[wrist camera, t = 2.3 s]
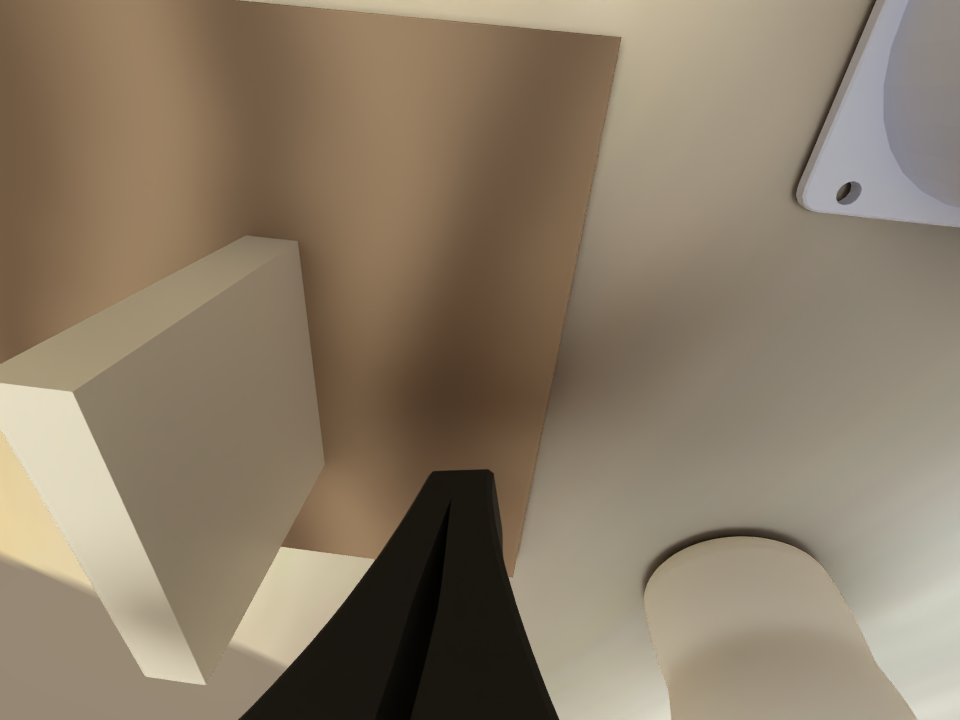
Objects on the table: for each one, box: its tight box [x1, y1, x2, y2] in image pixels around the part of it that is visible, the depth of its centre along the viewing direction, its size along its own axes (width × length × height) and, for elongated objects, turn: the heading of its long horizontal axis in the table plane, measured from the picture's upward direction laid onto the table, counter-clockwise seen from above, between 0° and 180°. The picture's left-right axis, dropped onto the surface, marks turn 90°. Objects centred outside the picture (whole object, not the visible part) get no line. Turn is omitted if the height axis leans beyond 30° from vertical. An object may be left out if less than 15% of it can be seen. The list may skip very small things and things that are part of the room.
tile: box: [0, 235, 325, 685], centre depth 11 cm, size 2×8×7 cm, turn 176°
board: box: [0, 0, 621, 577], centre depth 15 cm, size 18×18×1 cm
